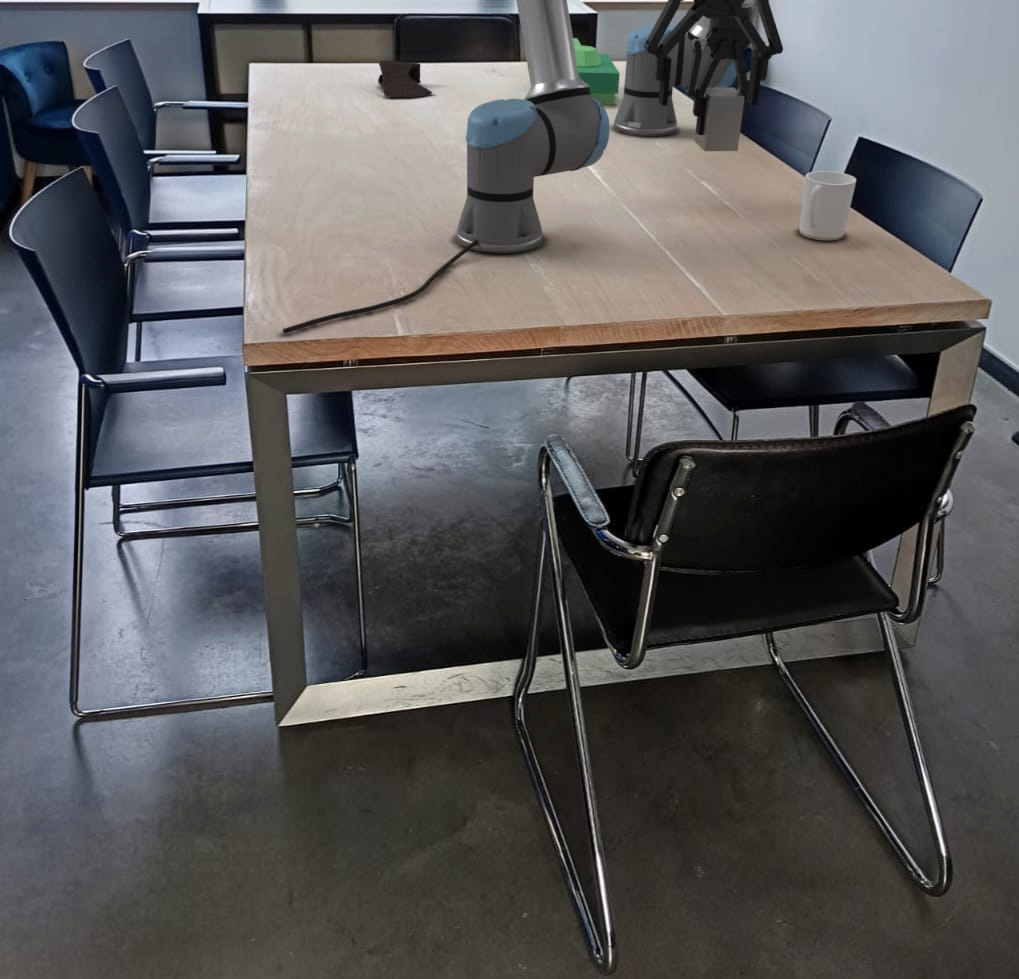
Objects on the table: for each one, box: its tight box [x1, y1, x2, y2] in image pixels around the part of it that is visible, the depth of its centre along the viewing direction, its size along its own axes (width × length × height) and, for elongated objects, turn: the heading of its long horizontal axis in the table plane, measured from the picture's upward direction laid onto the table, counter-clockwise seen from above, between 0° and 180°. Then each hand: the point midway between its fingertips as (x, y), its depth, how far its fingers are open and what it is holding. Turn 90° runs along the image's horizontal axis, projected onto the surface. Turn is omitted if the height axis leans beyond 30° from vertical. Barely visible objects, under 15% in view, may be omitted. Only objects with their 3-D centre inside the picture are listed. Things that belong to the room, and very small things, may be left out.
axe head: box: [377, 59, 433, 99], centre depth 299 cm, size 18×8×15 cm
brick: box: [694, 86, 745, 152], centre depth 211 cm, size 8×7×10 cm
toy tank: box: [573, 37, 620, 105], centre depth 300 cm, size 18×12×35 cm
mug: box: [798, 170, 857, 241], centre depth 199 cm, size 11×9×10 cm
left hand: (707, 103), depth 164 cm, fingers open, 13 cm apart
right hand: (717, 133), depth 212 cm, fingers closed on brick, 7 cm apart
